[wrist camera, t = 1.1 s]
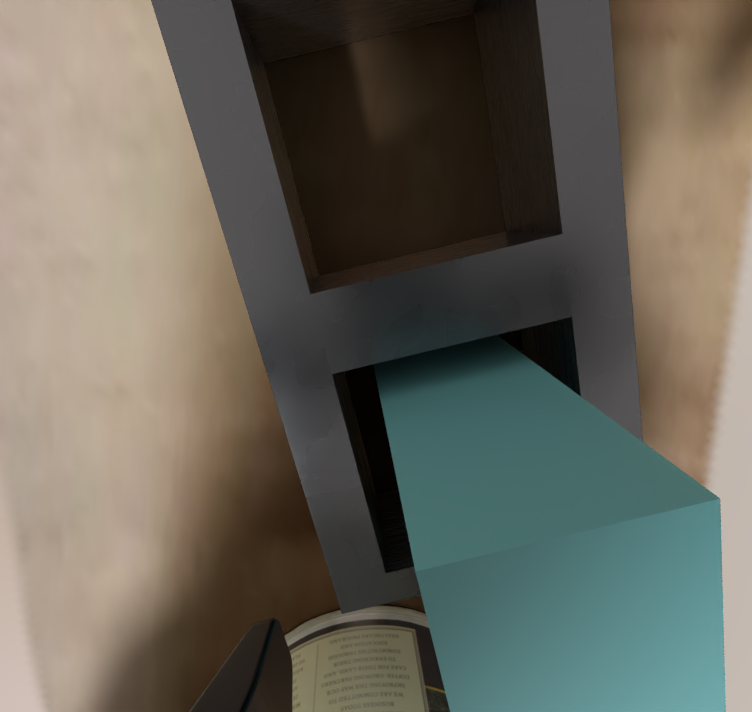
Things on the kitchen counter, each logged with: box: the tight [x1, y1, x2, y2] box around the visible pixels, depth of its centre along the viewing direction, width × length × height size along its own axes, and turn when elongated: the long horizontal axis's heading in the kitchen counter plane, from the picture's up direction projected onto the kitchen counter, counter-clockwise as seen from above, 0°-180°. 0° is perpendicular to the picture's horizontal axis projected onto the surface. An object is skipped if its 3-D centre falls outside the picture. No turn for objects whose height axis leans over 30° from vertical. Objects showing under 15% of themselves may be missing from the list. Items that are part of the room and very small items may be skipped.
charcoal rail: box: [151, 0, 643, 614], centre depth 13 cm, size 16×9×4 cm, turn 13°
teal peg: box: [373, 335, 726, 712], centre depth 11 cm, size 4×4×10 cm
